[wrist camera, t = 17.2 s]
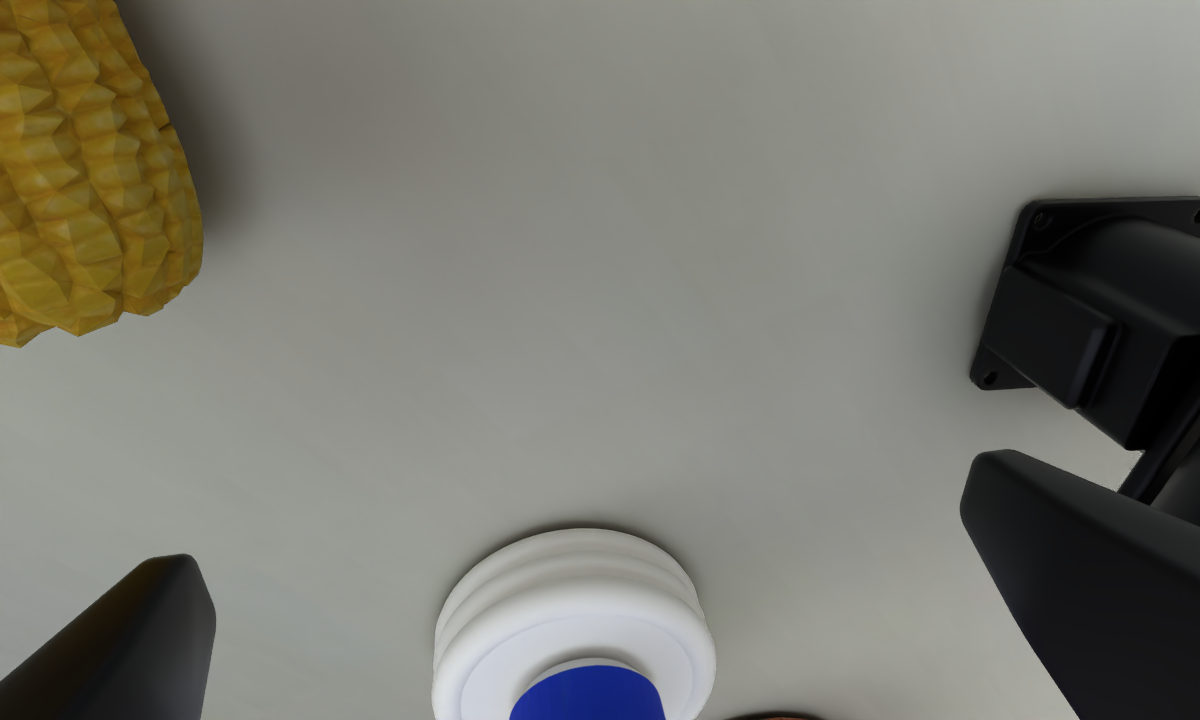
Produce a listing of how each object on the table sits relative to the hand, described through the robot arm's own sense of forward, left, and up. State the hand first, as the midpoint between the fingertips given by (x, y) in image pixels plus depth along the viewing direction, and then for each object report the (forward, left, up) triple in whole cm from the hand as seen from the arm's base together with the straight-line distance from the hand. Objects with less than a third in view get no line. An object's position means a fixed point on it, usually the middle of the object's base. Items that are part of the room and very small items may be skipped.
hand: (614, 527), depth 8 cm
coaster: (-1, +17, -13) cm, 21 cm away
